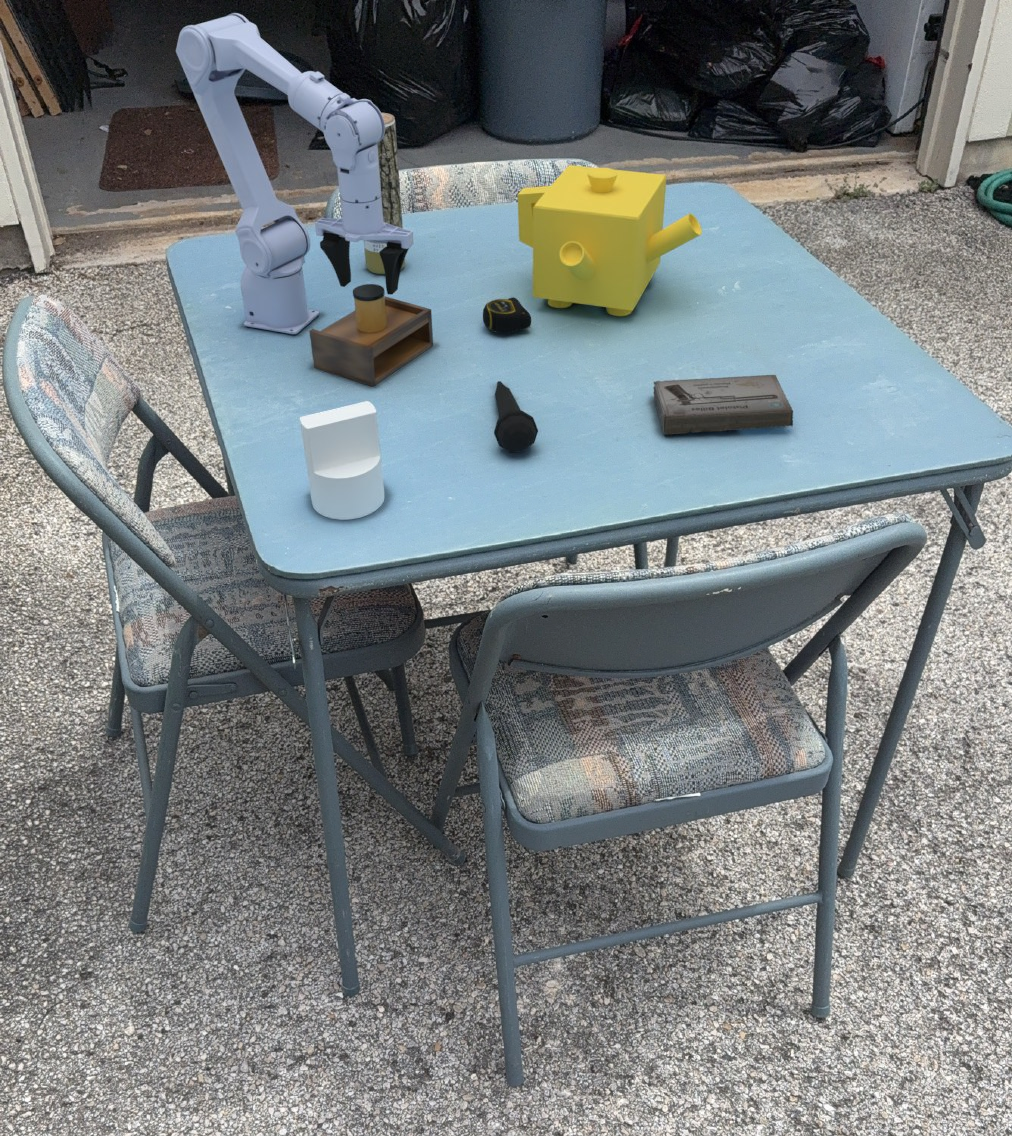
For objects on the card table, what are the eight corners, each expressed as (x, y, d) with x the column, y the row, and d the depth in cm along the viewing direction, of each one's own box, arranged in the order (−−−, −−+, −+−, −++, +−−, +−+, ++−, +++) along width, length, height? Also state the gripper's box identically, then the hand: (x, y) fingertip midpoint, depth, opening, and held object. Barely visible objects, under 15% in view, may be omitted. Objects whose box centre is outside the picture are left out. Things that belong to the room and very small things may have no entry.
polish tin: (350, 330, 166) (347, 294, 163) (364, 317, 170) (361, 282, 166) (379, 335, 165) (375, 299, 162) (392, 321, 168) (389, 286, 165)
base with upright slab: (325, 527, 136) (313, 441, 129) (302, 489, 143) (290, 406, 135) (395, 508, 139) (387, 423, 132) (370, 471, 146) (361, 389, 138)
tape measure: (532, 334, 176) (532, 311, 173) (490, 340, 174) (490, 318, 172) (518, 315, 181) (518, 293, 178) (477, 322, 179) (477, 300, 177)
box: (792, 430, 151) (795, 409, 149) (663, 436, 151) (664, 416, 149) (775, 392, 160) (777, 372, 158) (652, 398, 160) (653, 378, 158)
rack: (313, 367, 168) (309, 330, 164) (376, 328, 178) (373, 292, 174) (372, 386, 163) (368, 349, 160) (433, 345, 173) (431, 309, 169)
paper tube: (413, 265, 197) (403, 116, 181) (389, 279, 192) (377, 128, 177) (382, 257, 200) (369, 110, 184) (358, 270, 195) (343, 121, 180)
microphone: (488, 407, 164) (506, 466, 147) (474, 372, 161) (491, 429, 144) (523, 393, 164) (546, 451, 147) (510, 358, 161) (531, 413, 144)
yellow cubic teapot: (671, 355, 170) (682, 224, 157) (485, 329, 177) (482, 201, 165) (714, 264, 196) (727, 145, 183) (551, 244, 203) (552, 128, 191)
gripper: (300, 199, 156) (311, 291, 165) (395, 212, 152) (402, 306, 161) (324, 182, 162) (334, 272, 170) (417, 194, 157) (422, 286, 166)
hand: (368, 287), depth 166 cm, fingers open, 7 cm apart
